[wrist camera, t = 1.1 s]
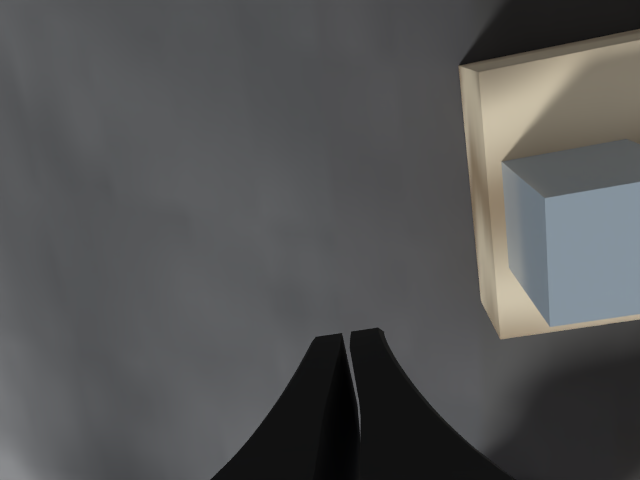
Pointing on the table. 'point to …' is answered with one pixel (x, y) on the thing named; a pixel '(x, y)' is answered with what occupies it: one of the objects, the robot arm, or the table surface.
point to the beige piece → (539, 143)
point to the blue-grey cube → (576, 230)
